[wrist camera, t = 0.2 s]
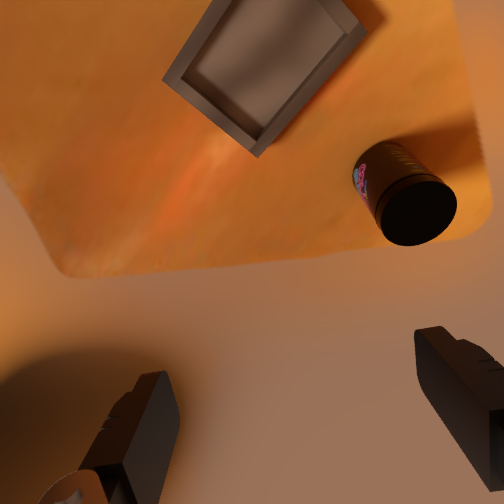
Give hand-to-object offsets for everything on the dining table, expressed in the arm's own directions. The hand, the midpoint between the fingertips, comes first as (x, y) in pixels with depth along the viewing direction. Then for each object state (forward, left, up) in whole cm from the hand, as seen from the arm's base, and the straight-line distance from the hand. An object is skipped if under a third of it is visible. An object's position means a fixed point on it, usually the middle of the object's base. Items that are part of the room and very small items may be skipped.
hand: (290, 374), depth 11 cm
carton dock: (-3, +5, -31) cm, 31 cm away
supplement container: (+15, +5, -31) cm, 35 cm away
